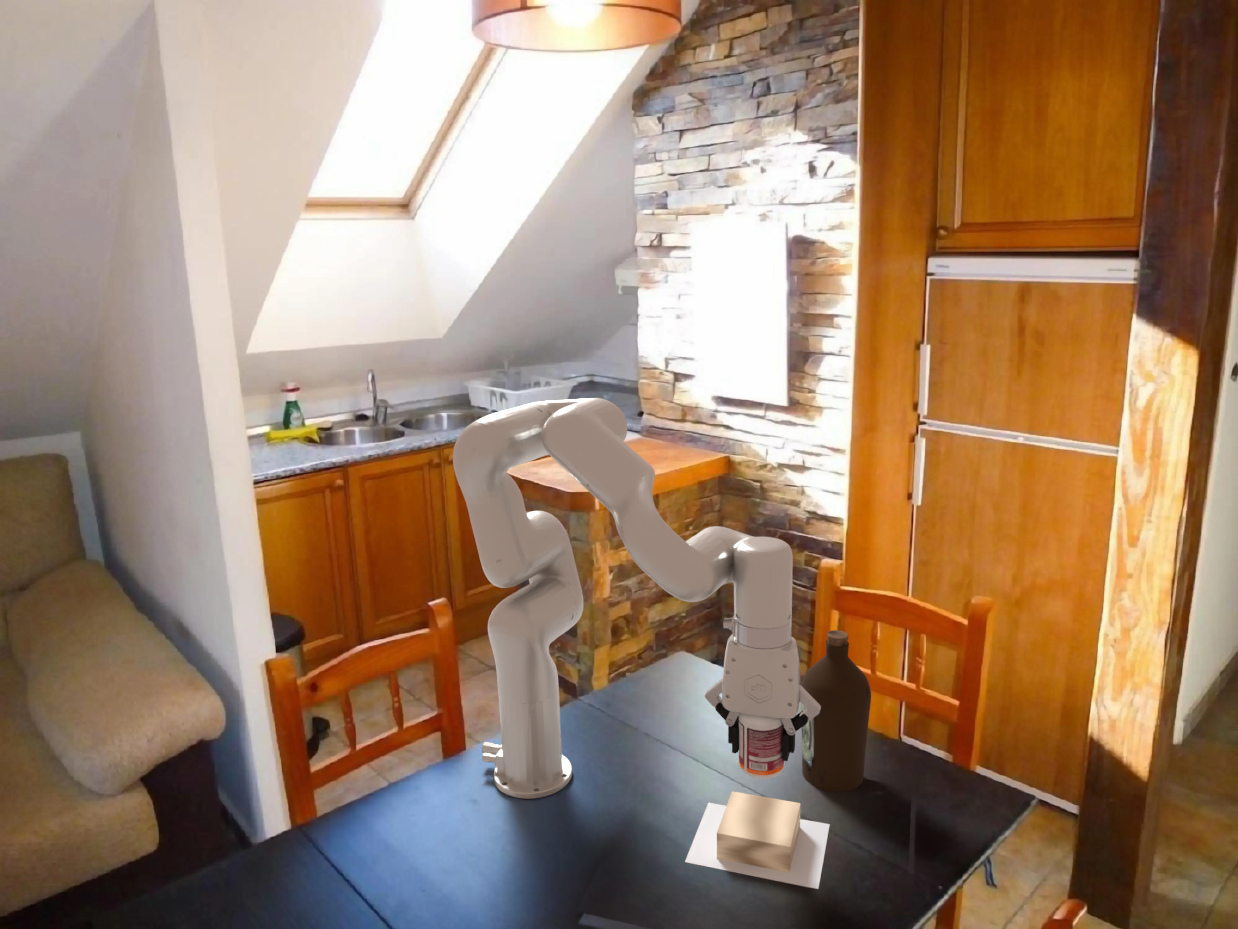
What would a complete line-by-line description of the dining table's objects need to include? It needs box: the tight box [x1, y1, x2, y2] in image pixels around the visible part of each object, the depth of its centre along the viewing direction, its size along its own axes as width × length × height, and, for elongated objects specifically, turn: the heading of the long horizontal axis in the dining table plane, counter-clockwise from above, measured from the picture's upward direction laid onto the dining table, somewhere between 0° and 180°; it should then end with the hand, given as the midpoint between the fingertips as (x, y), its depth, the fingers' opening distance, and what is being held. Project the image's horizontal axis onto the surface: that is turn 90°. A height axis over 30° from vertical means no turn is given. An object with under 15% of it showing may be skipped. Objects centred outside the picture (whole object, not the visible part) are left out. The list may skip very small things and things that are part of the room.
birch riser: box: [717, 790, 802, 873], centre depth 126 cm, size 10×10×4 cm
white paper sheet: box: [684, 802, 831, 890], centre depth 127 cm, size 18×14×1 cm
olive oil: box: [800, 629, 872, 793], centre depth 140 cm, size 11×11×25 cm
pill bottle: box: [738, 713, 785, 780], centre depth 122 cm, size 6×6×11 cm
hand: (761, 750), depth 123 cm, fingers closed on pill bottle, 6 cm apart
